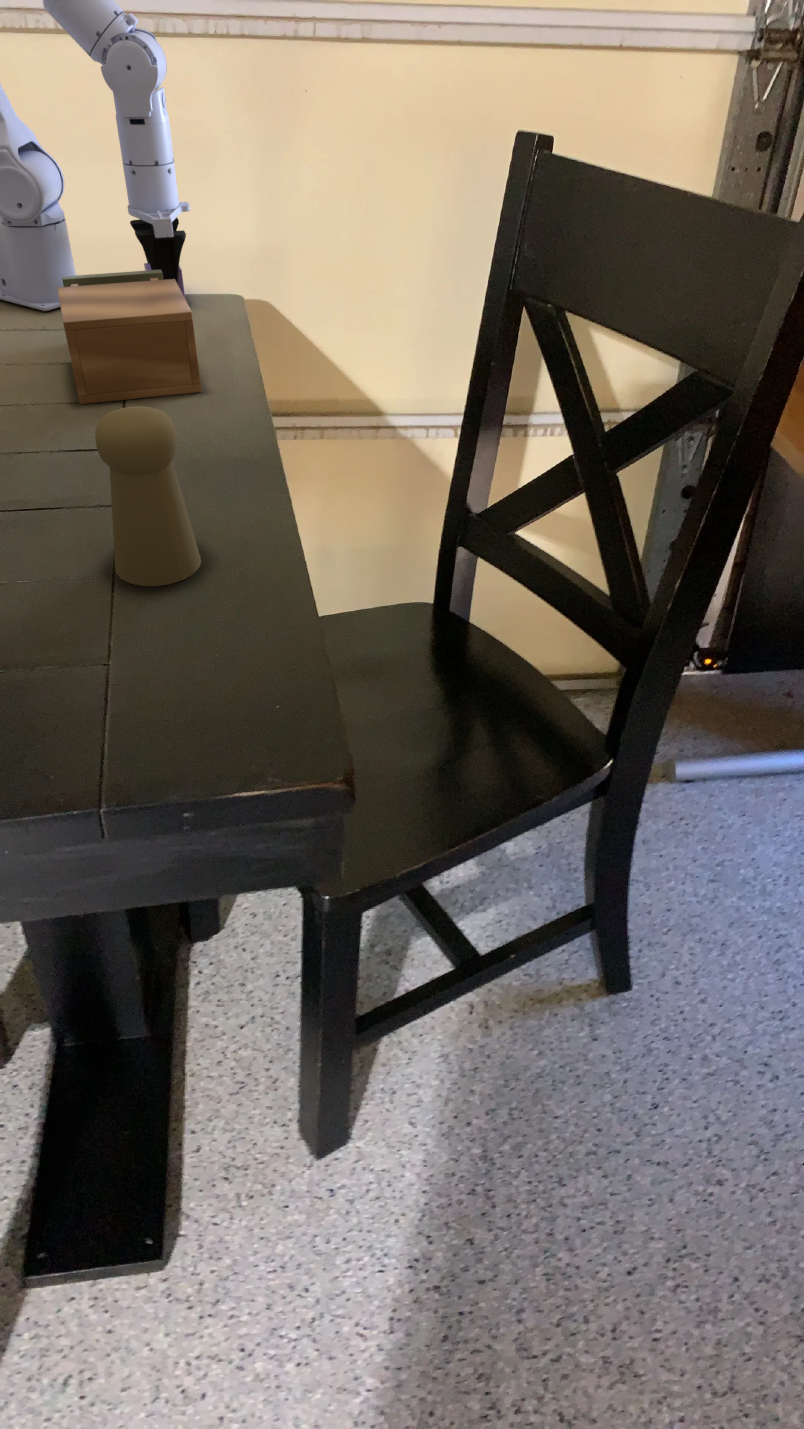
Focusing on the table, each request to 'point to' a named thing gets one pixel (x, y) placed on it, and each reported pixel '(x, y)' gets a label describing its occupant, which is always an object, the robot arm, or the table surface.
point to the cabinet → (130, 340)
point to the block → (180, 278)
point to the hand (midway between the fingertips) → (165, 288)
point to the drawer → (112, 278)
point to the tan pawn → (146, 498)
